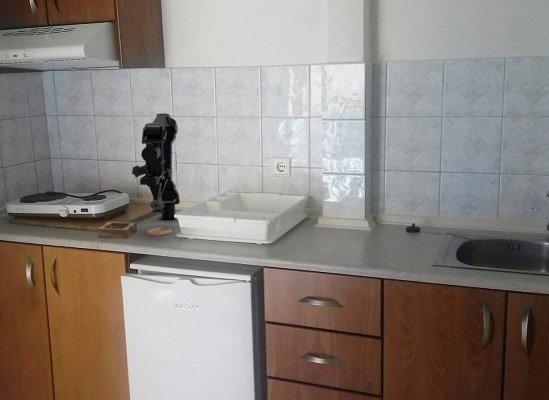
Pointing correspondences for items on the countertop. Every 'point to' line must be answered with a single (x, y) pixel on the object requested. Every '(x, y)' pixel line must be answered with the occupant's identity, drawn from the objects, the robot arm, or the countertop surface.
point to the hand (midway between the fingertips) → (157, 199)
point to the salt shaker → (157, 205)
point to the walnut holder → (117, 229)
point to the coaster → (159, 231)
